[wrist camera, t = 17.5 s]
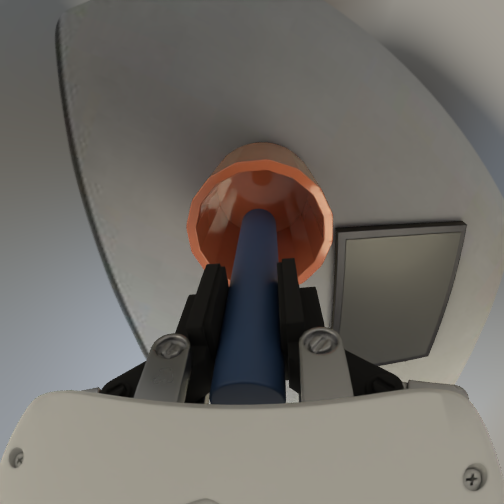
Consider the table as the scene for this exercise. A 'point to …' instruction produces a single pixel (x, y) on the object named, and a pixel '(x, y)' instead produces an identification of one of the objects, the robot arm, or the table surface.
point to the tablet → (394, 287)
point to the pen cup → (261, 197)
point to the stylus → (251, 321)
